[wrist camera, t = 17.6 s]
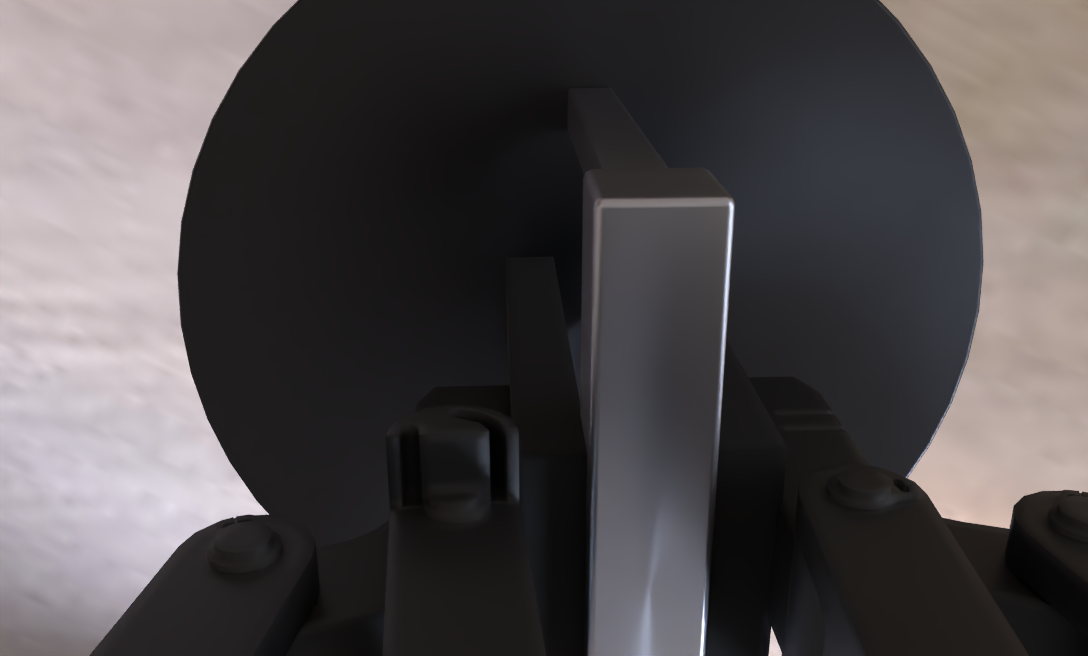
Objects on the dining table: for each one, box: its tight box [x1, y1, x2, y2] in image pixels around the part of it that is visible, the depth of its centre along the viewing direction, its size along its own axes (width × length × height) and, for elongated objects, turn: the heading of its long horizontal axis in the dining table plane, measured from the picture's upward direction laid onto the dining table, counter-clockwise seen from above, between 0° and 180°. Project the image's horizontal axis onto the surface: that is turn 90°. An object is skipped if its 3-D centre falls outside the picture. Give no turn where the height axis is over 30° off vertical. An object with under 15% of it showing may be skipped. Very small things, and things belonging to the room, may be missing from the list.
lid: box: [177, 0, 983, 656], centre depth 15 cm, size 14×14×9 cm
